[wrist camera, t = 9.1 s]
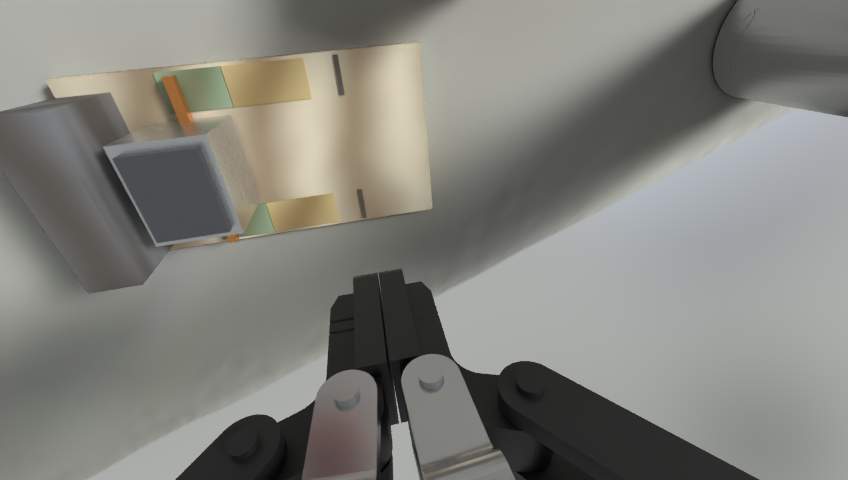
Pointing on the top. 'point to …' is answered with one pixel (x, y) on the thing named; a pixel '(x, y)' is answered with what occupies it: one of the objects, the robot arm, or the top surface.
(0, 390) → the top surface
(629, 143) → the top surface
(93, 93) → the board
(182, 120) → the block
